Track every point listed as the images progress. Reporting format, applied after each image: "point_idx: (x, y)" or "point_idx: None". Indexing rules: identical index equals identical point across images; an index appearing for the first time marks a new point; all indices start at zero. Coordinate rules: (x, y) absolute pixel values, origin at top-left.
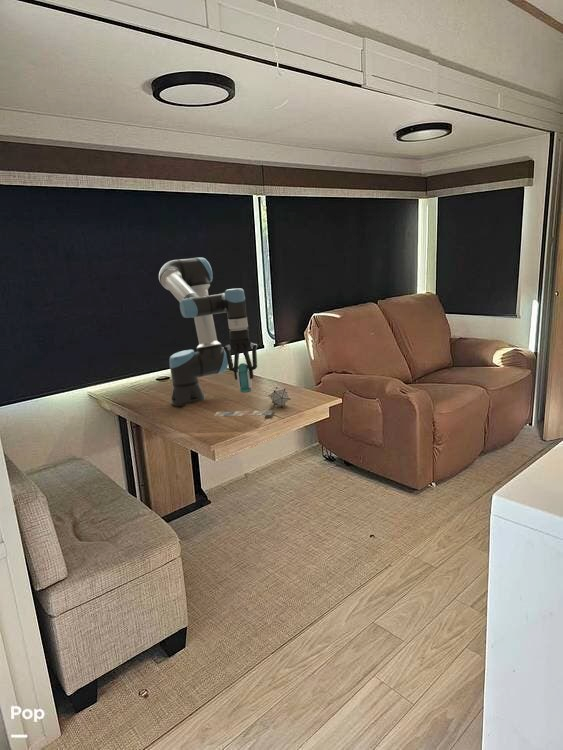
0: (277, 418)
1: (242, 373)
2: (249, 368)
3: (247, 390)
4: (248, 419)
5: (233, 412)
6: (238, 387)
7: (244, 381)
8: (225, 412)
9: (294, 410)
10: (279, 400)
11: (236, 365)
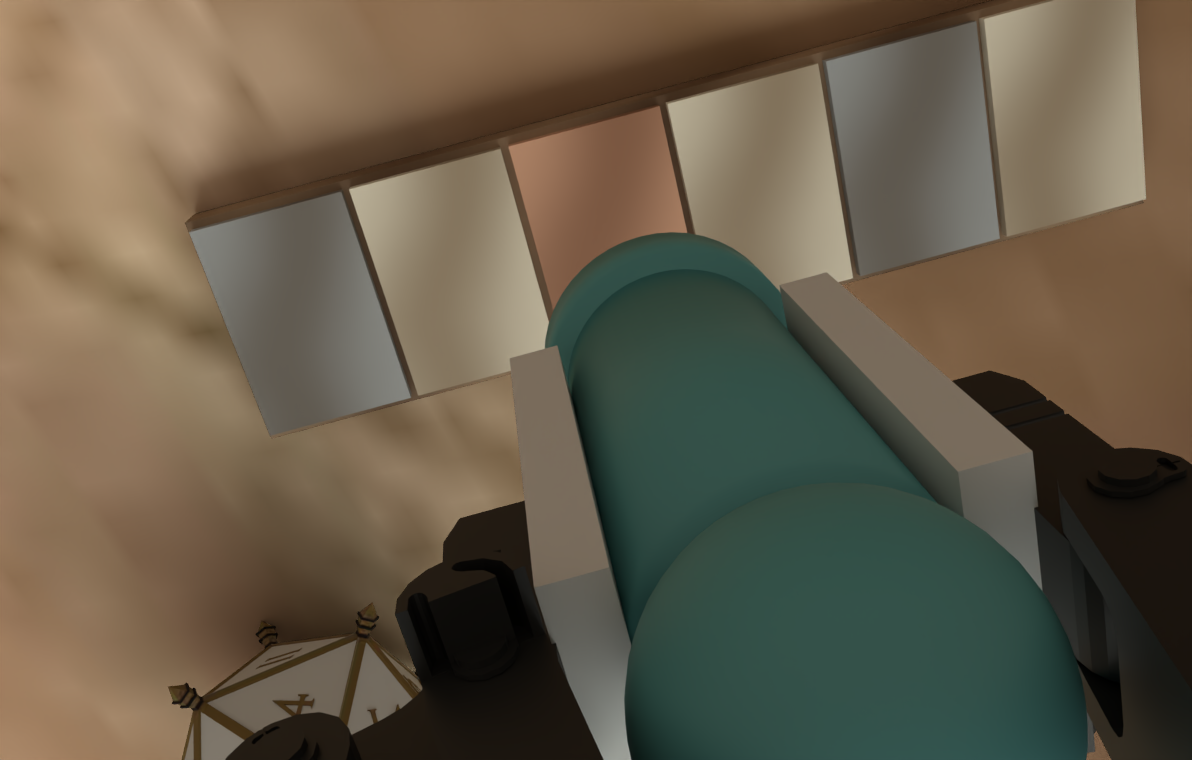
0: (80, 212)
1: (763, 451)
2: (505, 689)
3: (577, 287)
4: (533, 86)
5: (869, 224)
6: (828, 276)
7: (667, 356)
8: (1003, 206)
9: (25, 574)
10: (257, 673)
11: (1180, 633)
